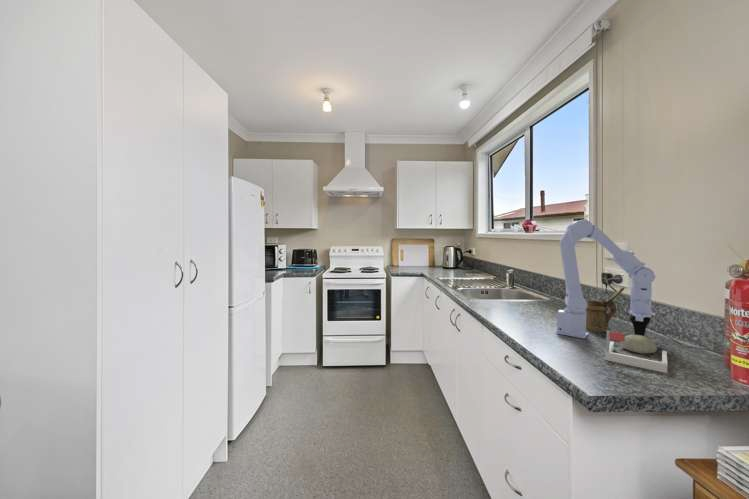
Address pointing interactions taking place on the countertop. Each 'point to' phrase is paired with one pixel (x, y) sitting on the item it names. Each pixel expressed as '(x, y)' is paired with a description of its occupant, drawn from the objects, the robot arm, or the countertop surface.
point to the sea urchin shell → (639, 344)
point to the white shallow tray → (630, 359)
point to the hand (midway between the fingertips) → (639, 337)
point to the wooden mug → (600, 314)
